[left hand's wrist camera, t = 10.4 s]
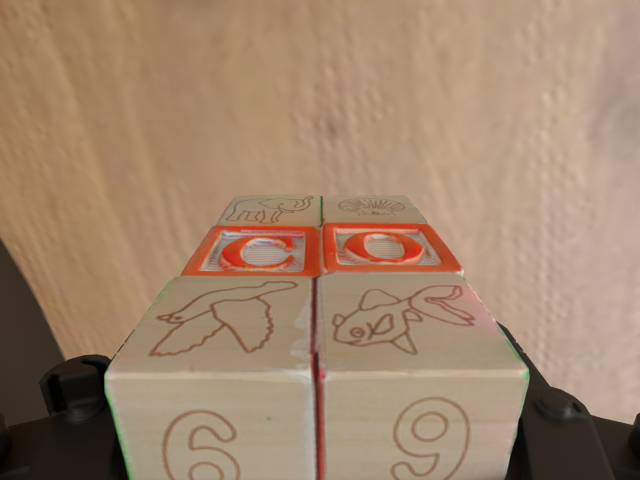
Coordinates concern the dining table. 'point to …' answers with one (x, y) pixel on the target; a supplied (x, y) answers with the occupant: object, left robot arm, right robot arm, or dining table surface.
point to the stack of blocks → (318, 354)
